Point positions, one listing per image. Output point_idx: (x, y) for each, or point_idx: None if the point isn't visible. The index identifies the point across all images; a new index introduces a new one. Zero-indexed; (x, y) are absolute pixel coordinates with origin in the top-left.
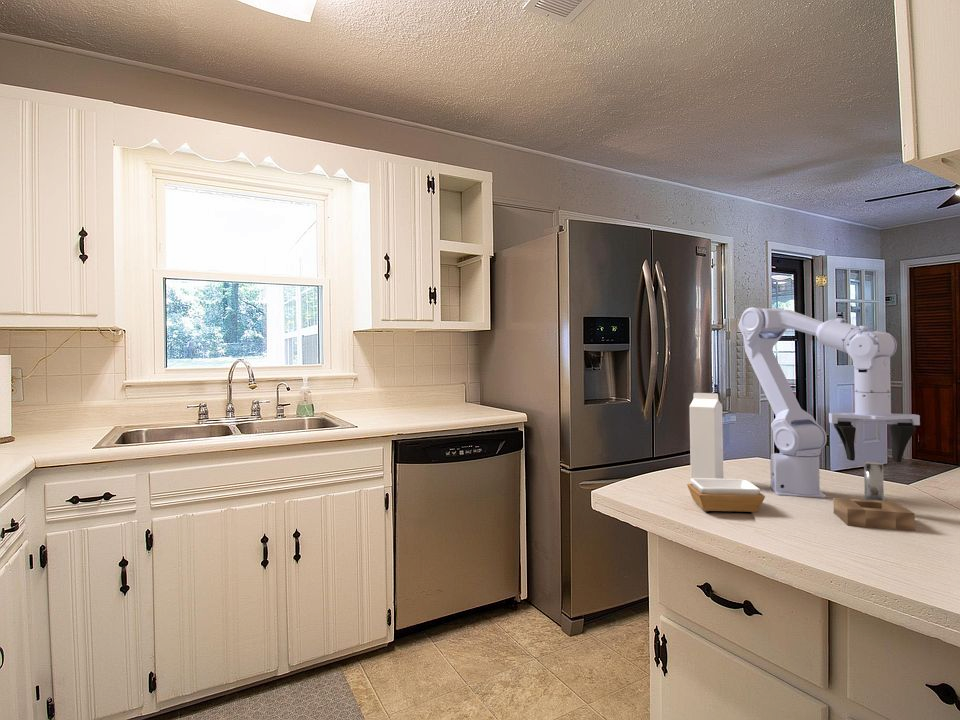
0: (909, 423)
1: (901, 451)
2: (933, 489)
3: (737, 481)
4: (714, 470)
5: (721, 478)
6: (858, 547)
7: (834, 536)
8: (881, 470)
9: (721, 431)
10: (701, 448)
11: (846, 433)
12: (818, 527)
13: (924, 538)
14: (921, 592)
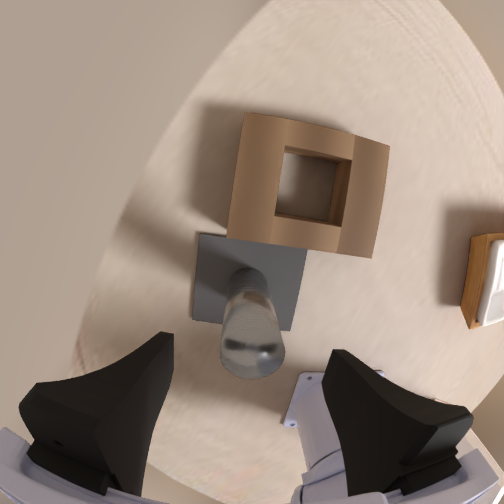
0: (41, 460)
1: (145, 351)
2: None
3: (490, 317)
4: None
5: None
6: (394, 41)
7: (413, 90)
8: (237, 318)
9: None
10: (472, 437)
11: (434, 406)
12: (422, 140)
13: (256, 74)
14: None
